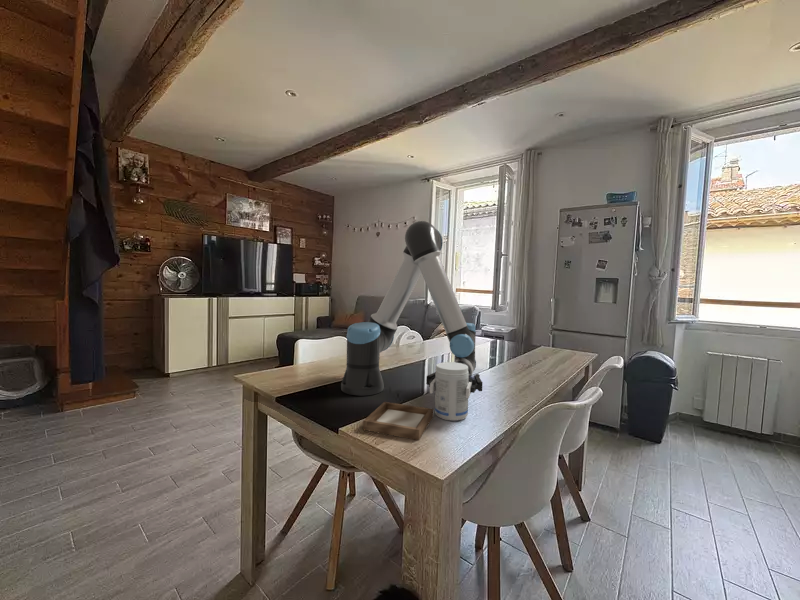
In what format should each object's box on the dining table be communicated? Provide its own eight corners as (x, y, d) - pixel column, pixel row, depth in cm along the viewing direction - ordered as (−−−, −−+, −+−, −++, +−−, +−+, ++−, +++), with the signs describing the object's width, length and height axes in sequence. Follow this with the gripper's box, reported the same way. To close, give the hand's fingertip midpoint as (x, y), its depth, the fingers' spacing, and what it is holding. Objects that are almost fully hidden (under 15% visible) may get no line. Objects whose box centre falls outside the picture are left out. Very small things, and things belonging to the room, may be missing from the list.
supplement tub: (464, 409, 101) (465, 362, 101) (470, 422, 92) (472, 370, 91) (432, 408, 101) (434, 361, 101) (436, 421, 92) (437, 369, 91)
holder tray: (363, 430, 85) (363, 420, 85) (384, 409, 100) (384, 401, 99) (419, 440, 81) (419, 430, 80) (433, 417, 95) (433, 408, 95)
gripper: (493, 386, 110) (489, 409, 89) (428, 378, 117) (410, 398, 96) (494, 363, 110) (490, 382, 88) (429, 357, 117) (411, 373, 95)
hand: (449, 390), depth 92 cm, fingers closed on supplement tub, 9 cm apart
